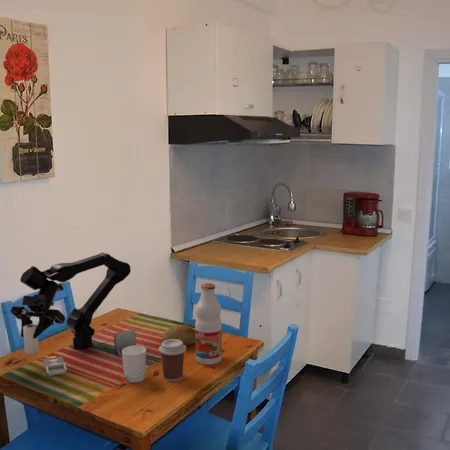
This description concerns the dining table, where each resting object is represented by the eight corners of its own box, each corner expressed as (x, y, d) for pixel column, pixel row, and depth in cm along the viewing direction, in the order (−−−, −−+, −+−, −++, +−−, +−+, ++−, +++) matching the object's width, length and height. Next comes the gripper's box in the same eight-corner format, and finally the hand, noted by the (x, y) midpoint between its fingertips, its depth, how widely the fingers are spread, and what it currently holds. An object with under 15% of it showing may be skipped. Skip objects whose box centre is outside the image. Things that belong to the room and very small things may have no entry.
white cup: (127, 385, 175) (126, 356, 174) (120, 376, 182) (118, 348, 181) (150, 380, 179) (149, 351, 177) (142, 371, 186) (141, 343, 184)
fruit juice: (227, 359, 196) (226, 284, 191) (210, 367, 188) (209, 290, 184) (207, 352, 201) (206, 279, 197) (190, 361, 194) (189, 285, 190)
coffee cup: (175, 385, 175) (175, 350, 173) (153, 378, 180) (152, 344, 178) (192, 374, 183) (191, 341, 181) (170, 368, 188) (169, 335, 186)
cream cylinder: (38, 348, 187) (36, 322, 186) (39, 352, 184) (37, 326, 182) (24, 350, 186) (22, 324, 184) (25, 355, 182) (23, 328, 180)
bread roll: (203, 346, 208) (203, 326, 206) (166, 353, 201) (166, 333, 200) (193, 338, 216) (192, 319, 215) (157, 345, 210) (157, 325, 208)
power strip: (43, 363, 193) (43, 356, 192) (62, 360, 195) (62, 353, 195) (47, 380, 179) (47, 373, 179) (67, 377, 182) (67, 370, 181)
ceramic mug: (114, 347, 207) (113, 328, 205) (135, 345, 209) (135, 326, 207) (115, 359, 197) (114, 339, 195) (137, 357, 198) (137, 337, 197)
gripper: (11, 283, 187) (-9, 324, 179) (58, 287, 182) (40, 329, 173) (27, 298, 196) (9, 338, 188) (72, 302, 191) (56, 344, 182)
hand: (28, 337), depth 182 cm, fingers closed on cream cylinder, 4 cm apart
